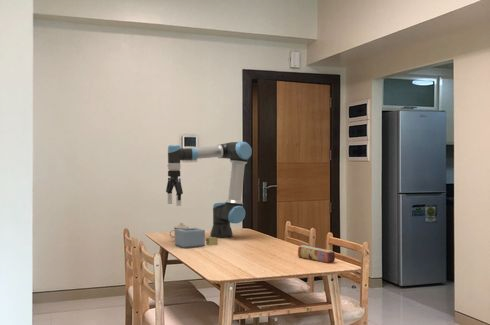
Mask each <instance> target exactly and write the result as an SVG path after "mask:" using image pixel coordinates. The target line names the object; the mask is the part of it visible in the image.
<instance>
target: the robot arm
mask: <svg viewBox="0 0 490 325" xmlns="http://www.w3.org/2000/svg"><path fill="white" fill-rule="evenodd" d="M251 157H252V147H251V146H250V144H249V143H248V142H247V141H230V142H226V143H221V144H220V143H219V144H217V145H214V146H213V145H212V146H211V145H210V146H197V147H185V148H184V147H183V148H181V145H180V144H169V145H168V147H167V170H168V171H167V176H168V178H167V183H166V189H165V192H166V193H167V204H168V205H172V204H173V190H174V189H175V192H176V194H175V197H176V198H175V199H176V200H175V201H176V207H182V195H183V194H184V191H183V186H182V183H181V180H182V179H181V178H179V177H181V161H196V160H198V159H200V160H201V159H210V158H211V159H213V158H218V159H227V160H229V162H230V163H231V171H230V177H229V178H230V179H229V180H230V181H229V189H228V198H227V200H226V201H225V202H215V203H214V204H213V206H212V227H211V231H210V233H209V234H210V235H209V236H210V237H217V238H218V239H220V238H221V239H224V238H231V237H233V236H234V235H233V231H232V227H231V224H240V223H241V222H243V220H244V219H245V218H246V210H245V208H244V203H243V202H242V196H243V194H242V193H243V187H244V186H243V185H244V176H245V166H246V164H248V160H249V159H250V158H251Z"/></svg>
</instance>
